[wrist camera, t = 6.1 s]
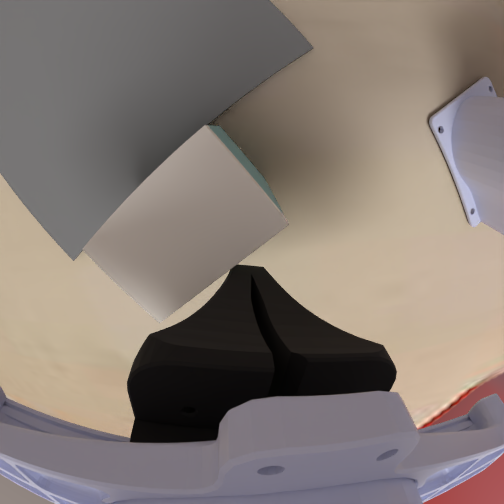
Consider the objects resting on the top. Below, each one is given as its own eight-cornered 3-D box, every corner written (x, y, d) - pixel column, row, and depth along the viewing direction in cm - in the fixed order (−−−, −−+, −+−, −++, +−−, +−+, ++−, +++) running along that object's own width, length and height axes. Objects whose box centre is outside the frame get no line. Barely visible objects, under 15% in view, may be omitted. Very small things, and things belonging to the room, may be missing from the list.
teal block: (265, 179, 17) (288, 224, 9) (188, 242, 18) (159, 323, 11) (219, 126, 15) (205, 124, 8) (143, 195, 16) (81, 249, 9)
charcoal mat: (311, 49, 13) (313, 47, 13) (76, 258, 18) (73, 260, 17) (113, -101, 6) (111, -103, 5) (-51, 79, 10) (-54, 80, 10)
